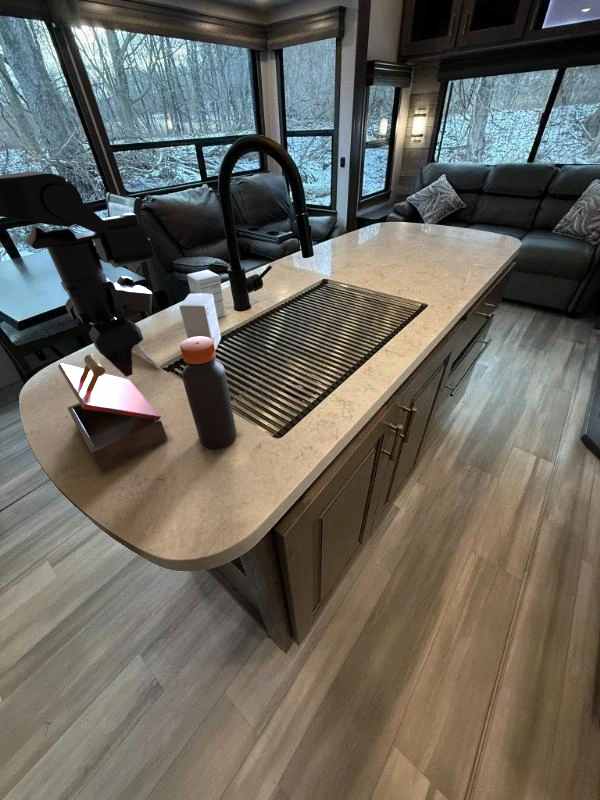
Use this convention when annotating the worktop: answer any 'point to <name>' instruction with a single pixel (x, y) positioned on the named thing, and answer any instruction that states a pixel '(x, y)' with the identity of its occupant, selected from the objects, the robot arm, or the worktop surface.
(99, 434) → the valve box
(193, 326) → the small box
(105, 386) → the lid
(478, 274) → the worktop surface
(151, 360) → the tweezers
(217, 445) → the dark bottle
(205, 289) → the white packaging box
